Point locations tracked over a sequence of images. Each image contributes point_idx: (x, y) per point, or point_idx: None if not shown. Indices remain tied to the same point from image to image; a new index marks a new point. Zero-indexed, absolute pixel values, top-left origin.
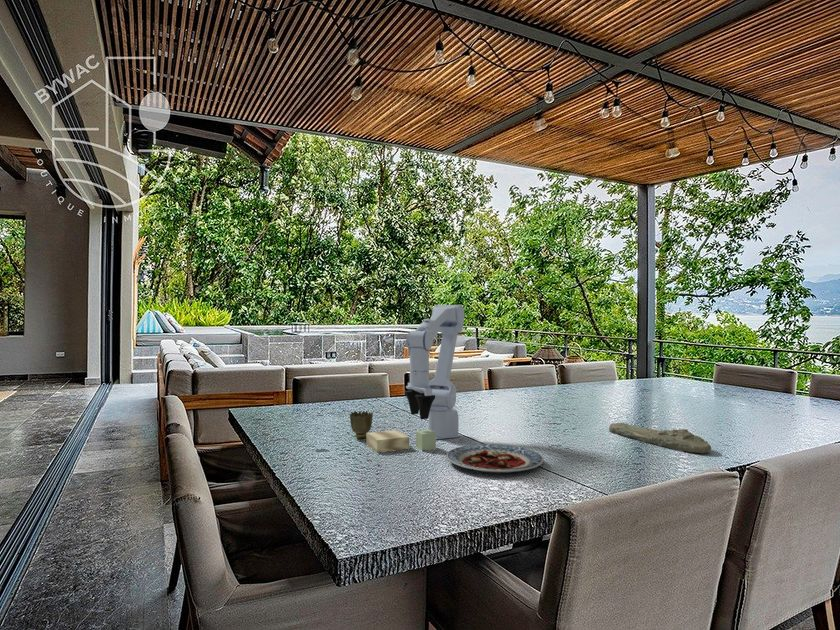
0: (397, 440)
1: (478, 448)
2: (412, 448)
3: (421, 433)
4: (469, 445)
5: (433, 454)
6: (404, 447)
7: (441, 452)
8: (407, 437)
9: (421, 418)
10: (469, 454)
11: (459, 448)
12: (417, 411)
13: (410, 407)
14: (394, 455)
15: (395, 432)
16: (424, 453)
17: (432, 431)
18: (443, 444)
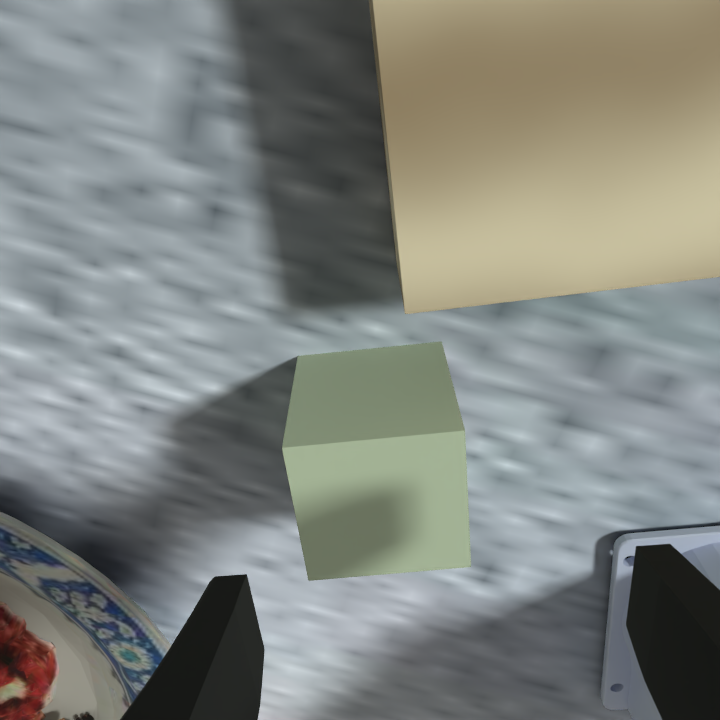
0: (387, 152)
1: None
2: None
3: (321, 453)
4: None
5: (168, 414)
6: (392, 220)
7: (218, 484)
8: (404, 292)
9: (208, 586)
10: (62, 623)
11: (101, 610)
12: (644, 651)
13: (700, 625)
14: (194, 46)
15: (706, 211)
16: (214, 356)
17: (381, 569)
18: None
